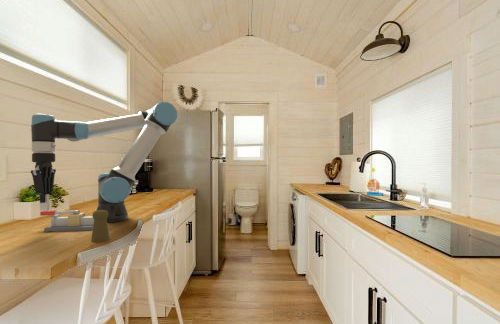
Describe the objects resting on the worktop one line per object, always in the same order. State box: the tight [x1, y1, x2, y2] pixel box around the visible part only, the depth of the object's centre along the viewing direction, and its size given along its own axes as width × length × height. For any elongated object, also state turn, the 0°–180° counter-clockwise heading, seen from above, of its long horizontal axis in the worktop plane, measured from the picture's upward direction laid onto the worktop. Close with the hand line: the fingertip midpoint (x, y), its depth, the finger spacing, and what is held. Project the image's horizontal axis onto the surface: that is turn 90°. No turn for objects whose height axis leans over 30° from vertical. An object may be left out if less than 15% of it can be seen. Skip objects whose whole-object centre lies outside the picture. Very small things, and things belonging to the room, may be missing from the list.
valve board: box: [43, 212, 94, 233], centre depth 116 cm, size 20×10×6 cm, turn 99°
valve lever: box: [39, 209, 81, 217], centre depth 114 cm, size 3×14×2 cm, turn 105°
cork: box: [90, 209, 110, 243], centre depth 99 cm, size 6×6×11 cm
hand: (44, 210), depth 108 cm, fingers closed
